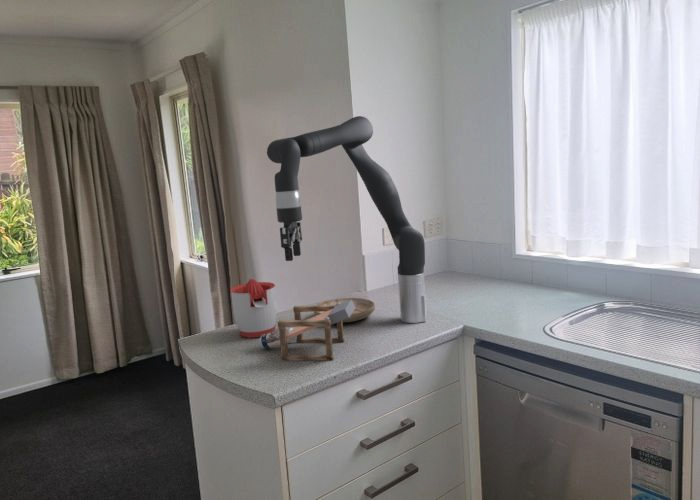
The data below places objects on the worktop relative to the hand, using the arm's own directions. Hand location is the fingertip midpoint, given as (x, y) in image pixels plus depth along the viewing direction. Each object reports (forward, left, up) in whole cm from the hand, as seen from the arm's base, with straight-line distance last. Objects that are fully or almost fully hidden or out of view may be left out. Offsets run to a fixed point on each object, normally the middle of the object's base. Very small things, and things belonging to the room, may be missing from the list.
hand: (293, 258), depth 171 cm
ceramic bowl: (-7, -35, -30) cm, 47 cm away
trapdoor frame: (-4, 0, -30) cm, 30 cm away
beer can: (+2, 0, -24) cm, 25 cm away
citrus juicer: (+21, -17, -30) cm, 40 cm away
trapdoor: (-8, 0, -21) cm, 23 cm away
